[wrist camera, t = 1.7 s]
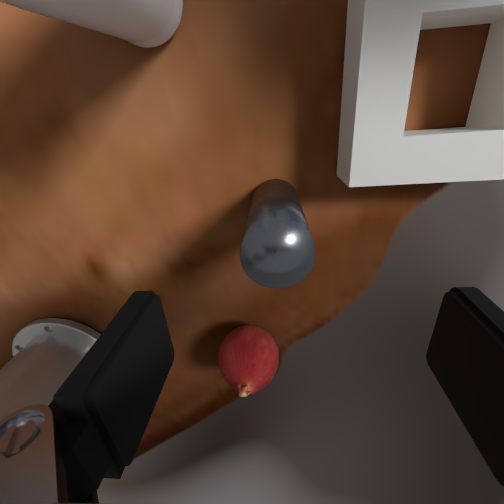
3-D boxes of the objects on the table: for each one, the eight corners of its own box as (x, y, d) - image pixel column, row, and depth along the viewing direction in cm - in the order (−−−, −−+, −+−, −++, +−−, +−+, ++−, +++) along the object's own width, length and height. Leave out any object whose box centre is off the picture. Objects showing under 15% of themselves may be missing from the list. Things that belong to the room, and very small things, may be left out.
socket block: (495, 166, 21) (541, 177, 18) (336, 175, 22) (349, 187, 19) (562, -48, 16) (646, -94, 12) (349, -24, 17) (370, -60, 13)
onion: (289, 331, 30) (294, 400, 23) (250, 357, 32) (245, 427, 25) (251, 298, 28) (244, 361, 21) (213, 327, 30) (196, 393, 23)
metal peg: (298, 223, 24) (314, 287, 15) (253, 225, 25) (243, 289, 16) (298, 177, 23) (317, 219, 14) (249, 180, 23) (236, 222, 14)
